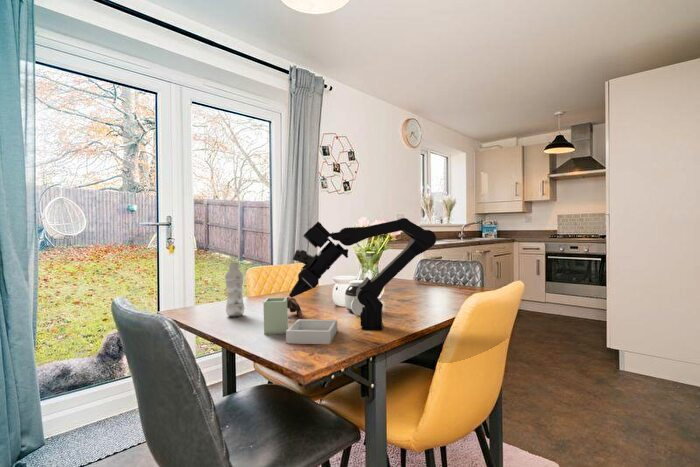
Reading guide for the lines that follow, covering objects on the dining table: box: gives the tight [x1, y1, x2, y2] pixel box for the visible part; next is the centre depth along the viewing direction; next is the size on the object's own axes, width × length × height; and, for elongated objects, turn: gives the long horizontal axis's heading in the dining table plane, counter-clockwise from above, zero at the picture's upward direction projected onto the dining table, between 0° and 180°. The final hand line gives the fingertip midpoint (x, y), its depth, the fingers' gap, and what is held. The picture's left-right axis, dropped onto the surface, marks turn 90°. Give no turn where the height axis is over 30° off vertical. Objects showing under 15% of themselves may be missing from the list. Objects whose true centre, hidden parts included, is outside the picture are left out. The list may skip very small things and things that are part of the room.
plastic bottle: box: [224, 261, 245, 318], centre depth 132 cm, size 6×7×20 cm
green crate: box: [262, 296, 289, 336], centre depth 112 cm, size 6×6×10 cm
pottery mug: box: [286, 296, 303, 319], centre depth 131 cm, size 12×10×8 cm
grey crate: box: [285, 318, 338, 345], centre depth 105 cm, size 13×13×4 cm
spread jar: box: [344, 279, 365, 317], centre depth 135 cm, size 12×11×12 cm
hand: (291, 293), depth 112 cm, fingers open, 9 cm apart
